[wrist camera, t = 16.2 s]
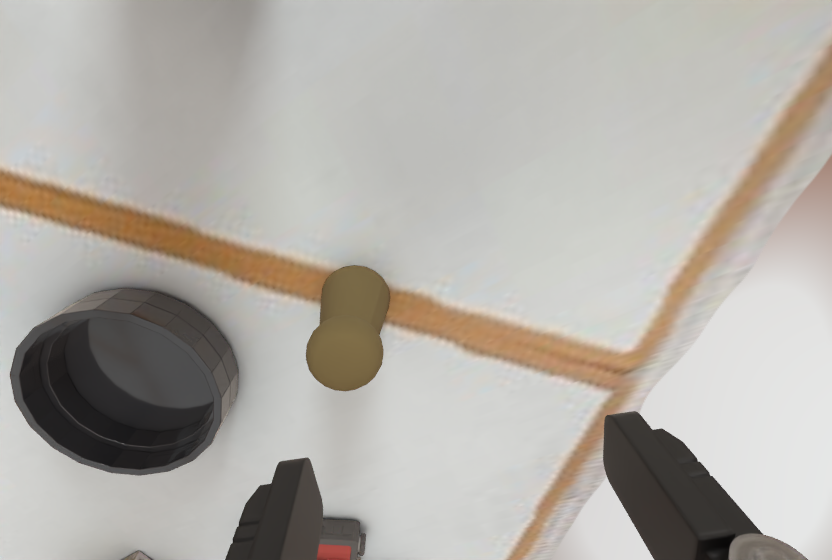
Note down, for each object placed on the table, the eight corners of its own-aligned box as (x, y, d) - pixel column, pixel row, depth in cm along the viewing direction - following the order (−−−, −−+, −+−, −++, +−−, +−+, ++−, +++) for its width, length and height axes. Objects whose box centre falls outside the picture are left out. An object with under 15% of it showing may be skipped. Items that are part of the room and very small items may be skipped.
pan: (19, 301, 37) (-30, 327, 32) (207, 274, 37) (183, 296, 32) (97, 448, 43) (64, 486, 38) (259, 425, 43) (244, 460, 38)
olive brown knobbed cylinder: (336, 336, 39) (316, 415, 29) (310, 277, 37) (279, 341, 27) (399, 316, 39) (401, 391, 29) (377, 256, 37) (371, 313, 27)
